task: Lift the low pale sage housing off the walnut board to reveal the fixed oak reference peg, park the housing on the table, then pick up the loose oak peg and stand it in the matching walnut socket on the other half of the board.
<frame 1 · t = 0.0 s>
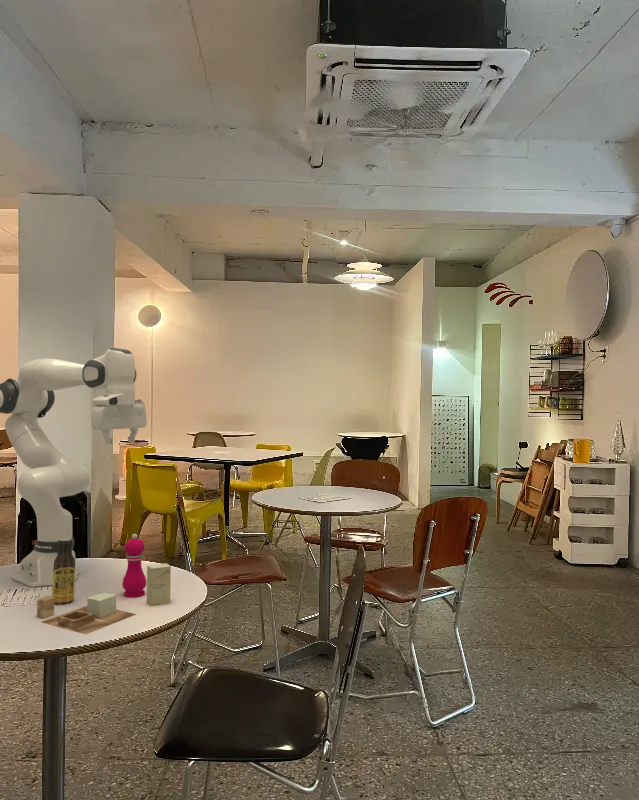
hand: (120, 443, 209), 48 cm above the table, fingers open, 8 cm apart
sauce bottle: (63, 605, 199), on the table
board: (89, 621, 185), on the table
housing: (101, 613, 189), point 1 cm above the table, touching board
oak peg: (45, 619, 186), on the table
pepper mill: (134, 598, 206), on the table
skincare box: (158, 606, 199), on the table
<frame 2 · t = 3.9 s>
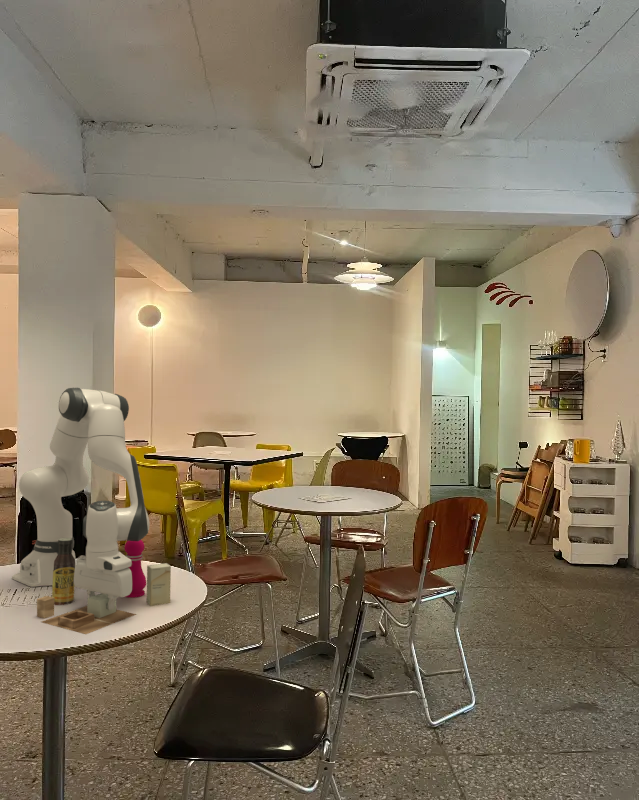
hand: (102, 607, 189), 3 cm above the table, fingers closed on housing, 5 cm apart
housing: (101, 613, 189), point 1 cm above the table, touching board, gripper
everything else where it was.
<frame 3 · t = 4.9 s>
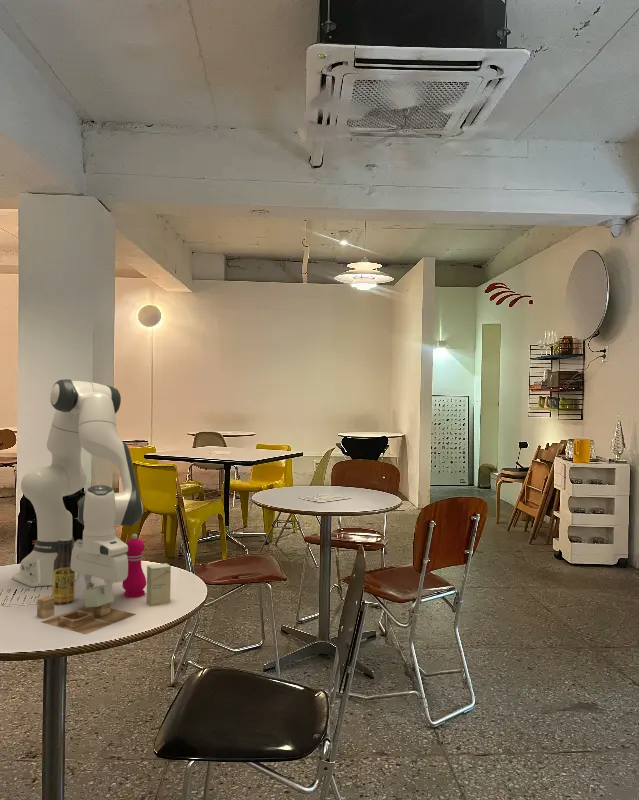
hand: (97, 591, 188), 7 cm above the table, fingers closed on housing, 5 cm apart
housing: (100, 604, 188), point 4 cm above the table, tilted 13°, touching gripper
everything else where it was.
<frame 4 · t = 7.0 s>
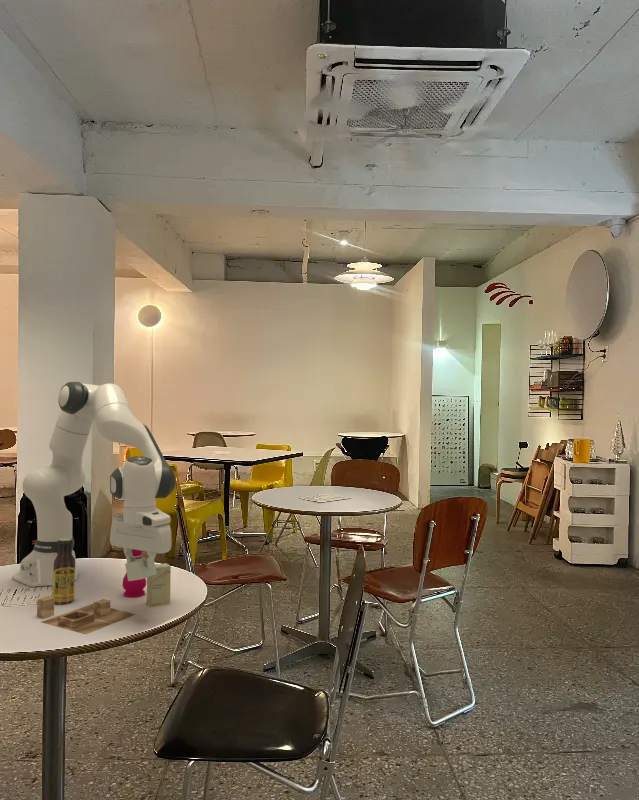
hand: (139, 565, 183), 16 cm above the table, fingers closed on housing, 5 cm apart
housing: (142, 577, 183), point 13 cm above the table, tilted 14°, touching gripper
everything else where it was.
when the fingers open (3 cm above the table, at t = 9.3 s): housing stays where it is, on the table.
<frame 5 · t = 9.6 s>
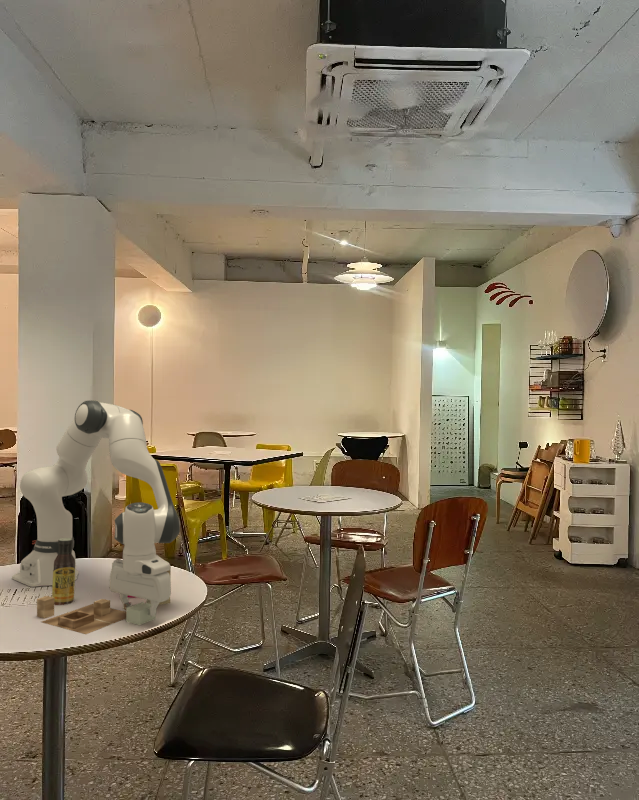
hand: (139, 612, 183), 3 cm above the table, fingers open, 8 cm apart
housing: (141, 623, 183), on the table
everything else where it was.
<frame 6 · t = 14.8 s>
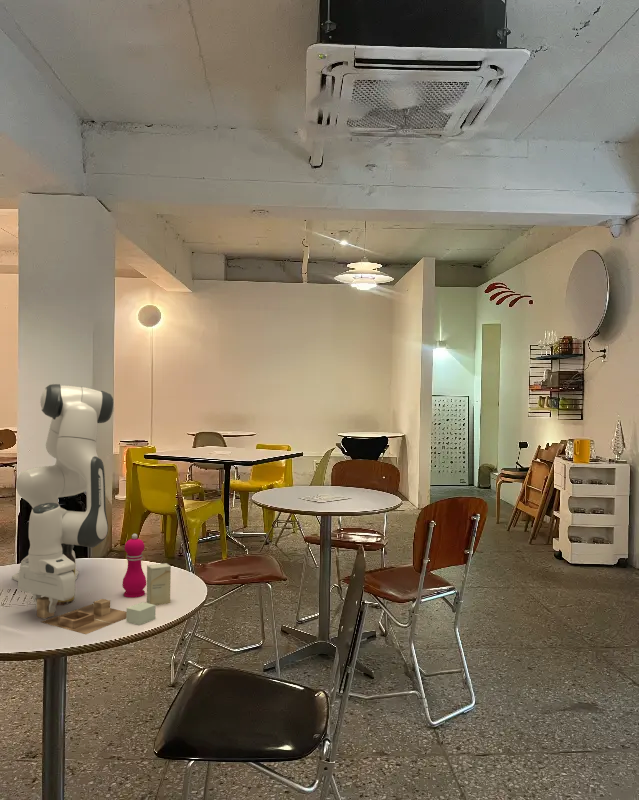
hand: (45, 610, 186), 2 cm above the table, fingers closed on oak peg, 3 cm apart
oak peg: (45, 619, 186), on the table, touching gripper
everything else where it was.
when the fingers open (5 cm above the table, at t = 19.7 s): oak peg drops 1 cm, resting on board.
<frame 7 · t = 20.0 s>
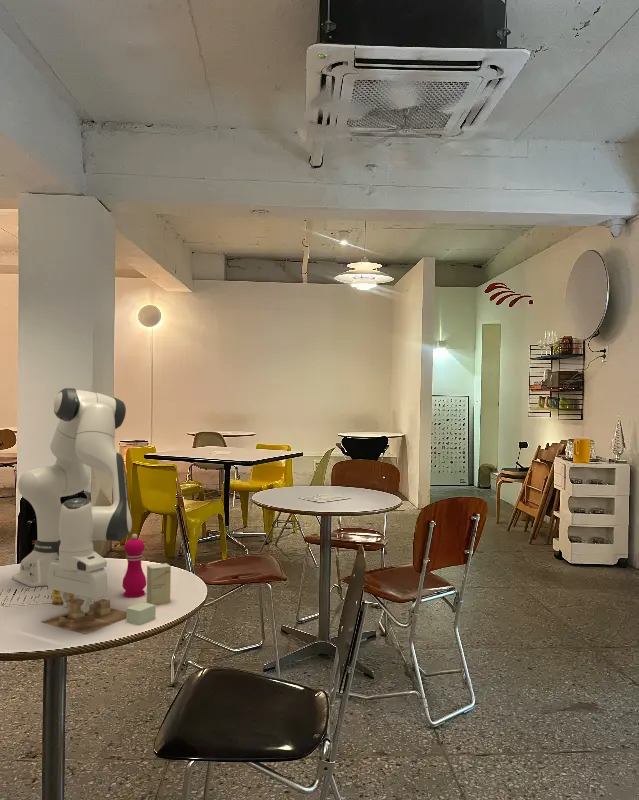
hand: (76, 609, 181), 5 cm above the table, fingers open, 5 cm apart
oak peg: (76, 622, 181), point 1 cm above the table, touching board
everything else where it was.
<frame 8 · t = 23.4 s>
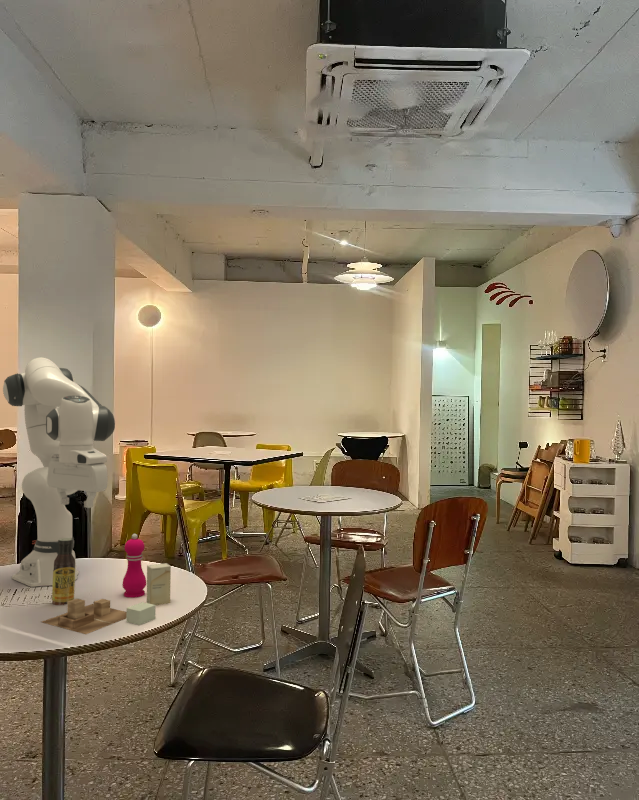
hand: (76, 505, 180), 33 cm above the table, fingers open, 8 cm apart
nothing on the table moved.
at the end: oak peg 0.0 cm from the target spot on the board, point 1.0 cm above the board's base; oak peg tilted 0°; housing moved 13.7 cm from its start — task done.
